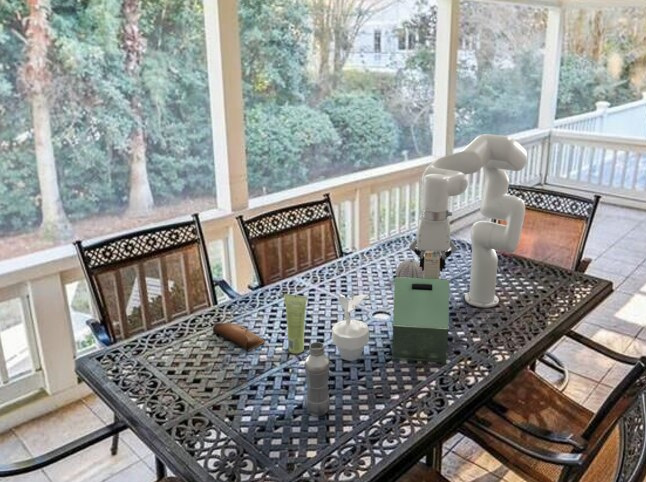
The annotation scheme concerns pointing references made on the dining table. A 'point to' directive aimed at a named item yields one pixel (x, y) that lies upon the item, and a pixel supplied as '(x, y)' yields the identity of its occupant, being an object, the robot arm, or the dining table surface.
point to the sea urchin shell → (409, 270)
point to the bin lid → (421, 302)
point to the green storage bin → (420, 343)
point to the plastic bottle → (317, 380)
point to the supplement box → (432, 265)
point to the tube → (295, 322)
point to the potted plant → (350, 330)
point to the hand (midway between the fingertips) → (432, 269)
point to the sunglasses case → (238, 335)
